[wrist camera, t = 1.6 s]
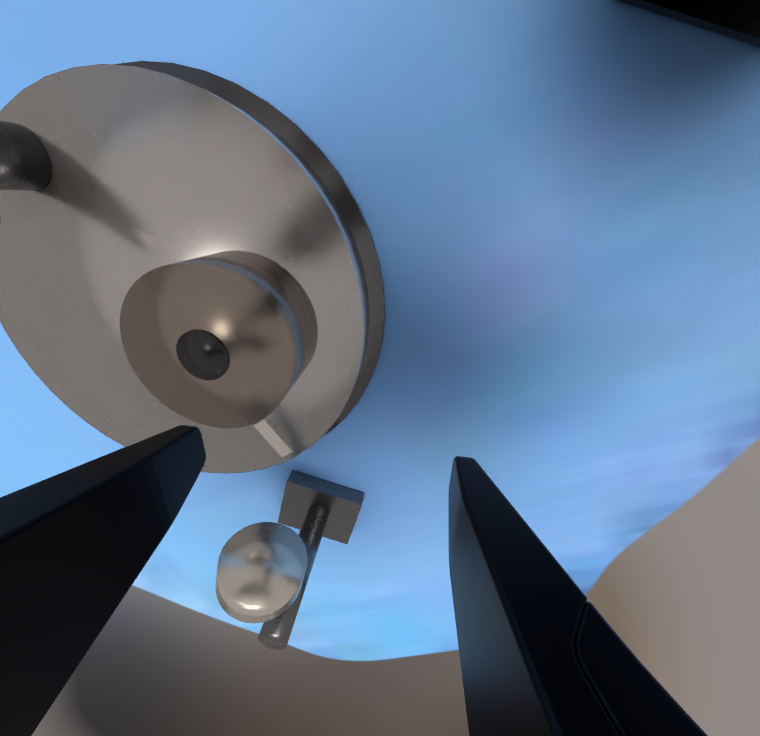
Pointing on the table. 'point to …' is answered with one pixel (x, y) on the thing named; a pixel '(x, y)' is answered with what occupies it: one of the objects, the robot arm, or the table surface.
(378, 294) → the turntable base
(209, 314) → the cover
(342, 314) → the turntable
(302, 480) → the stand
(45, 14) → the table surface
